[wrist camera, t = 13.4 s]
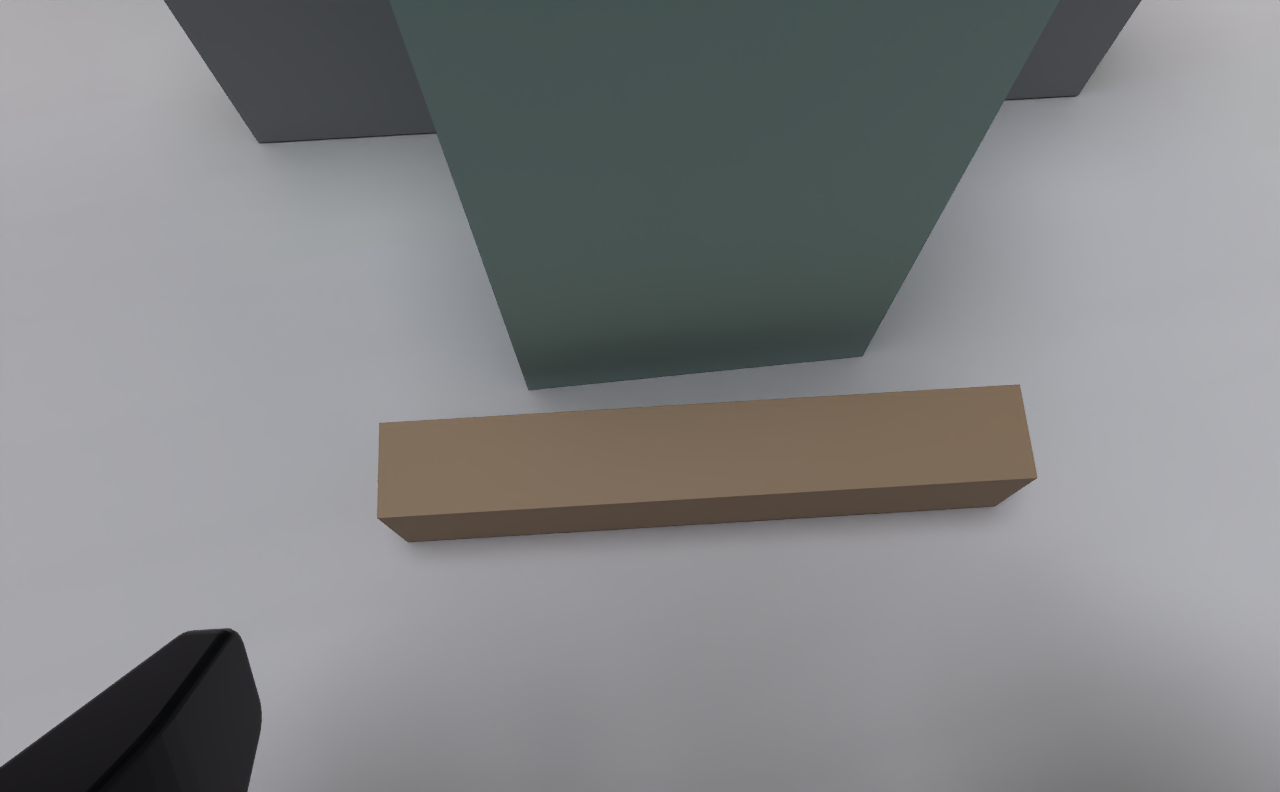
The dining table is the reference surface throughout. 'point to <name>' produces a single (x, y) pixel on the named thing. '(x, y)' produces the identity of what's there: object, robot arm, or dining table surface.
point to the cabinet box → (706, 165)
